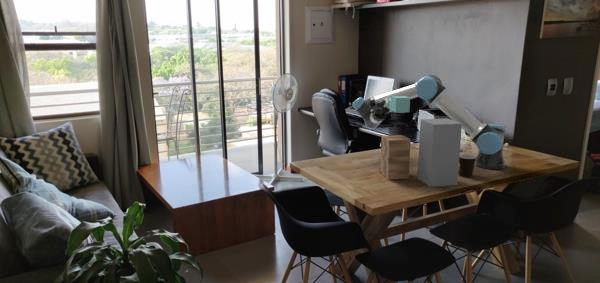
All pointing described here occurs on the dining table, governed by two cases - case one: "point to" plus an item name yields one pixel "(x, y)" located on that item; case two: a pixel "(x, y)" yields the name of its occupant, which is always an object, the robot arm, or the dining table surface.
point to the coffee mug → (466, 165)
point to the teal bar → (398, 104)
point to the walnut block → (395, 156)
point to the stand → (439, 152)
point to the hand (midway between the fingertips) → (392, 99)
